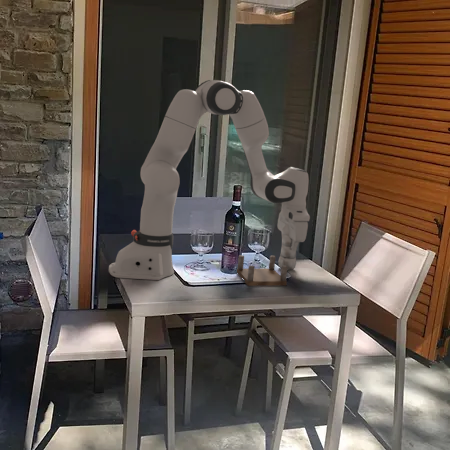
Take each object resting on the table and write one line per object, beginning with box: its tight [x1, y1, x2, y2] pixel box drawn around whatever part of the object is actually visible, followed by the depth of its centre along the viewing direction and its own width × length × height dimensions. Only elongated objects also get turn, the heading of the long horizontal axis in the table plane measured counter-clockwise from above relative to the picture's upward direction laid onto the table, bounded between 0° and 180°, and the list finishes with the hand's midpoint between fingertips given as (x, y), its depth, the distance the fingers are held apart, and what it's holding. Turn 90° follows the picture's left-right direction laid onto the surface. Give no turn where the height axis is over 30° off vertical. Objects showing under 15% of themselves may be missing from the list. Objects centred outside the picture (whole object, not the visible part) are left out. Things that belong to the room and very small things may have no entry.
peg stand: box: [236, 254, 288, 287], centre depth 203 cm, size 14×14×6 cm
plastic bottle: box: [277, 221, 297, 271], centre depth 215 cm, size 6×7×20 cm
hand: (288, 247), depth 215 cm, fingers open, 8 cm apart
